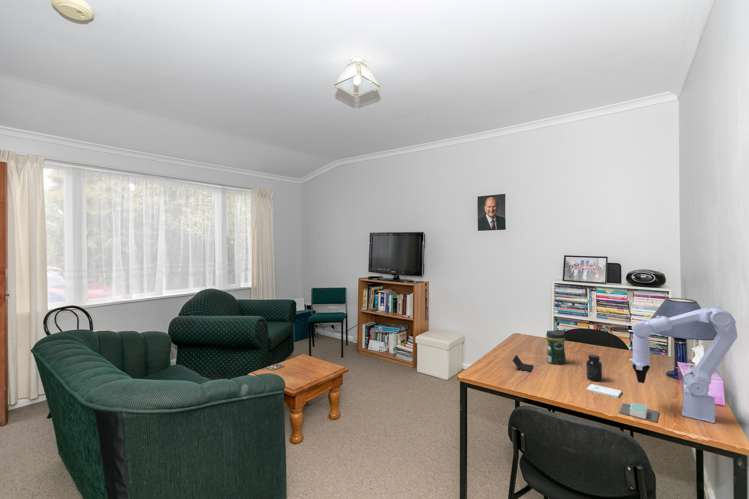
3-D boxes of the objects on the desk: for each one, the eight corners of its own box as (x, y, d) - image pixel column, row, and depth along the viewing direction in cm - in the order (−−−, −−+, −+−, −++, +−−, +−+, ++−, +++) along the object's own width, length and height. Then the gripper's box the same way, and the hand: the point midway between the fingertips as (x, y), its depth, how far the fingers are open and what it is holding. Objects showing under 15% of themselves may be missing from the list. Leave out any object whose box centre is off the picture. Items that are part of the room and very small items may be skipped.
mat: (658, 412, 144) (658, 411, 144) (656, 422, 136) (656, 421, 136) (623, 403, 152) (623, 403, 152) (619, 413, 144) (619, 412, 144)
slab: (647, 405, 143) (645, 411, 138) (647, 412, 143) (645, 418, 138) (632, 402, 146) (629, 408, 141) (632, 408, 146) (629, 414, 141)
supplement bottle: (592, 376, 184) (592, 353, 184) (605, 380, 178) (605, 356, 178) (583, 378, 182) (583, 354, 181) (595, 382, 175) (595, 358, 175)
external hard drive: (618, 399, 157) (586, 391, 166) (622, 393, 163) (591, 386, 172) (618, 395, 157) (586, 388, 166) (622, 390, 163) (591, 383, 172)
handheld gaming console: (534, 370, 190) (522, 353, 193) (523, 377, 191) (511, 360, 195) (534, 366, 200) (522, 350, 204) (523, 373, 202) (511, 357, 205)
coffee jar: (560, 360, 209) (560, 329, 209) (567, 364, 201) (567, 332, 201) (544, 360, 209) (544, 329, 209) (550, 365, 202) (550, 332, 201)
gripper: (631, 345, 158) (631, 375, 158) (627, 352, 147) (627, 385, 147) (651, 347, 153) (651, 379, 153) (648, 356, 142) (648, 389, 142)
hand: (641, 382), depth 150 cm, fingers closed
